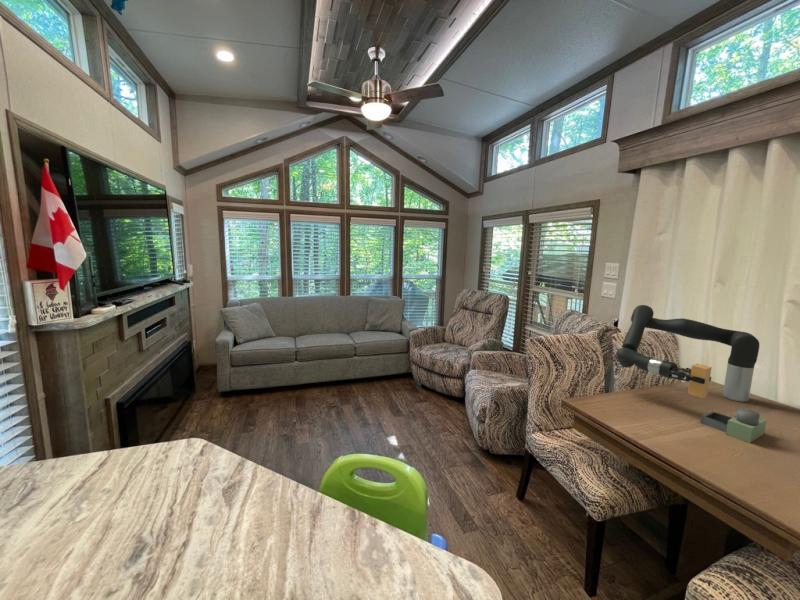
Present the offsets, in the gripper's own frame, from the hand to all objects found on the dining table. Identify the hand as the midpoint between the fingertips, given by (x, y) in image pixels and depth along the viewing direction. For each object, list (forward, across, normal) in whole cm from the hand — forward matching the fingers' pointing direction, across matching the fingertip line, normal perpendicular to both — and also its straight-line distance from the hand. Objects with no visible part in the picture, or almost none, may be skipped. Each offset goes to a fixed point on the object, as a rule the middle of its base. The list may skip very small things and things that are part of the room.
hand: (707, 380), depth 144 cm
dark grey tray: (+6, 0, -18) cm, 19 cm away
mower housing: (+14, 0, -17) cm, 22 cm away
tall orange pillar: (-3, 0, -8) cm, 8 cm away
